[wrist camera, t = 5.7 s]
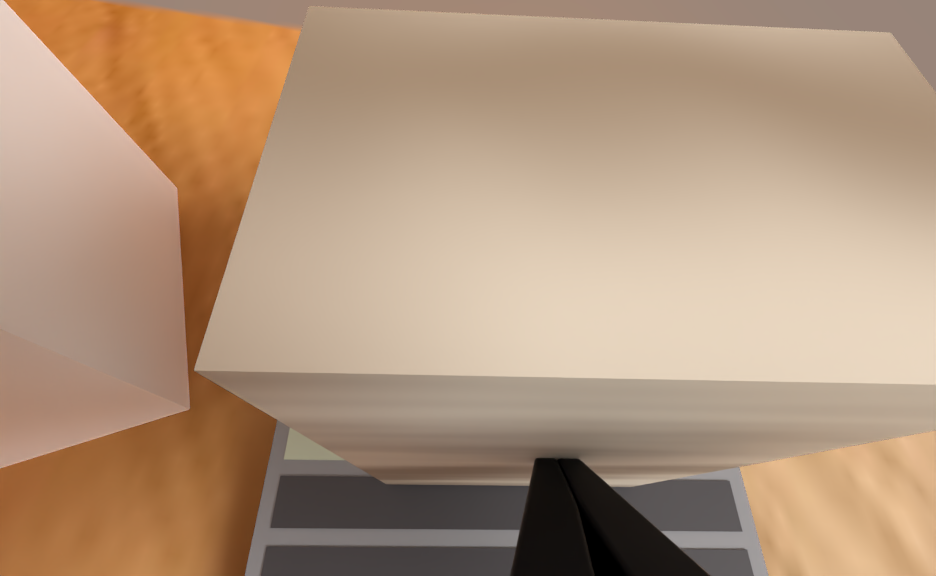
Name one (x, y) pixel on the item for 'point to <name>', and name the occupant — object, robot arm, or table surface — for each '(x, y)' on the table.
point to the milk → (80, 264)
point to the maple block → (585, 246)
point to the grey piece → (459, 520)
